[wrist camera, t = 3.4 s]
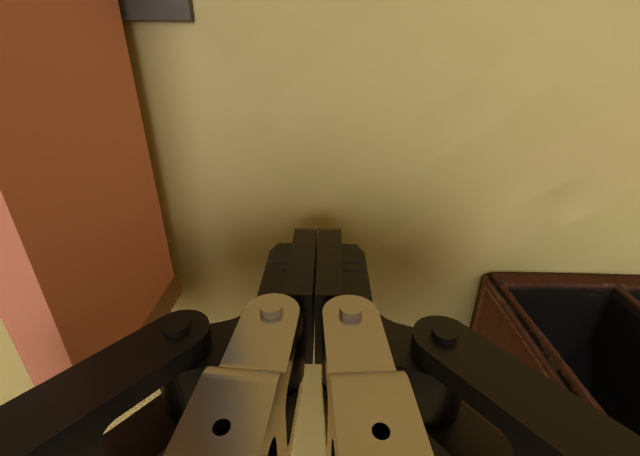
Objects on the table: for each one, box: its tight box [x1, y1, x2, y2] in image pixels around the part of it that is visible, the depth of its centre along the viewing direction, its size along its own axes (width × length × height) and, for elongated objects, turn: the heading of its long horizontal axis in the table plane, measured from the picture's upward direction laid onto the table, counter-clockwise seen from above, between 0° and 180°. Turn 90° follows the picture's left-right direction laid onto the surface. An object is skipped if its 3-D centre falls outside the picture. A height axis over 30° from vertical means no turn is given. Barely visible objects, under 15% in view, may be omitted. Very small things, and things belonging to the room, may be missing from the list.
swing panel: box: [0, 0, 182, 386], centre depth 10 cm, size 12×2×6 cm, turn 179°
